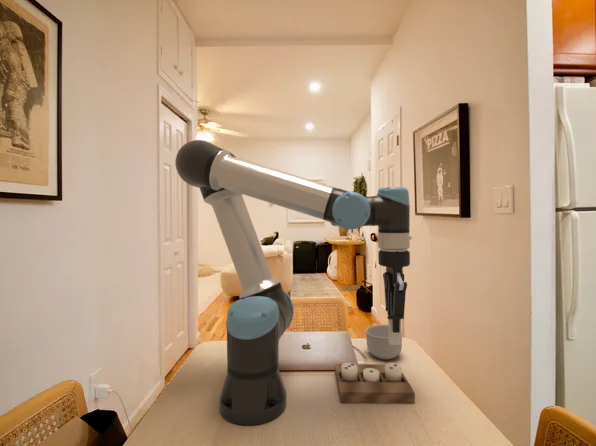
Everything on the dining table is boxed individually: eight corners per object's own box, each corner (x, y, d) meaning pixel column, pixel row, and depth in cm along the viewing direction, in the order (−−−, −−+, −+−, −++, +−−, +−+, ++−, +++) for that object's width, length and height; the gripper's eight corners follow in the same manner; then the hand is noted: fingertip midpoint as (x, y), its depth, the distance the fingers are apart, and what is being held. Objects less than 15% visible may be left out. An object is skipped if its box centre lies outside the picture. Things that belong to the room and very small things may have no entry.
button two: (387, 381, 79) (387, 370, 79) (383, 373, 83) (383, 362, 83) (403, 381, 79) (403, 370, 79) (398, 373, 83) (399, 362, 83)
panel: (340, 402, 74) (340, 392, 74) (334, 373, 88) (334, 364, 88) (414, 403, 74) (414, 392, 74) (397, 373, 88) (397, 364, 88)
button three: (342, 380, 79) (342, 369, 79) (340, 373, 83) (340, 362, 83) (358, 381, 79) (358, 370, 79) (356, 373, 83) (356, 362, 83)
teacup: (406, 363, 94) (406, 336, 94) (369, 363, 94) (369, 336, 94) (393, 344, 108) (393, 320, 107) (361, 344, 108) (361, 320, 108)
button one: (364, 386, 79) (364, 375, 79) (361, 378, 83) (361, 367, 83) (381, 386, 79) (381, 375, 79) (377, 378, 83) (377, 367, 83)
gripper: (418, 252, 73) (418, 354, 74) (401, 246, 86) (401, 333, 87) (385, 252, 74) (386, 354, 74) (373, 247, 87) (374, 334, 87)
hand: (394, 343), depth 81 cm, fingers closed
